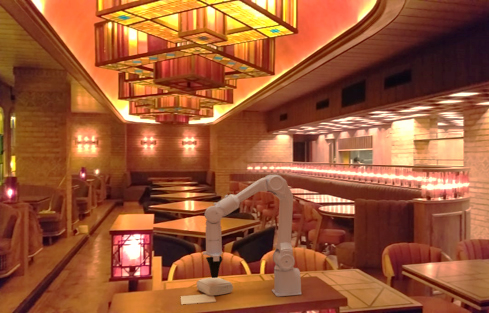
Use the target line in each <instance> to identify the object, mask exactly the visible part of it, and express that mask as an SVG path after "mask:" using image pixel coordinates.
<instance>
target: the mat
mask: <svg viewBox="0 0 489 313" xmlns="http://www.w3.org/2000/svg"><path fill="white" fill-rule="evenodd" d="M180 297H181V298H180ZM180 297H179V298H180V303H181V304H180V305H181V306H183V304H186V305H196V304H197V303H198V304H206V303H207V304H209V303H210V304H211V303H216V302H217V300H216V298H215V295H213V296H211V295H207V294H205V293H202V294H193V295H191V294H190V295H181V296H180ZM198 304H197V305H198Z"/></svg>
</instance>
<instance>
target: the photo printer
mask: <svg viewBox="0 0 489 313" xmlns="http://www.w3.org/2000/svg"><path fill="white" fill-rule="evenodd" d="M196 289H197V291H199V292H201V293H202V294H207V295H211V296H213V295H214V296H219V295H225V294H230V293H232V292H233V289H234V285H233V284H232V282H231V281H229V280H226V279H223V278H221V277H217V278H212V277H207V278H206V277H205V278H202V279H199V280H197V281H196Z"/></svg>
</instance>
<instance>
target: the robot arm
mask: <svg viewBox="0 0 489 313" xmlns="http://www.w3.org/2000/svg"><path fill="white" fill-rule="evenodd" d="M259 192H270V193H272V194H273V195H274V196H275V197H276V198H277V199H278V201H279V202H278V203H279V204H278V205H279V206H278V208H279V209H278V221H277V223H278V225H277V226H278V227H277V242H276V244H275V249H274V252H273V254H272V261H273V262H274V264H275V265H274V267H273V276H274V279H273V280H274V288H272V289H271V292H272V293H273V294H274V295H275V296H276V297H285V296H286V297H287V296H289V297H290V296H298V295H300V296H301V295H303V294H302V280H301V271H300V269H299V268H298V267H294V266H295V263H296V262H295V261H296V259H295V256H294V254H293V253H294V251H293V245H292V229H293V228H292V227H293V212H294V211H293V210H294V209H293V208H294V195H293V192H292V190H291V189H290V187H289V185H288V181H287V180H286V179H285V178H283V177H282V175H280V174H268V175H266V176H265V177H262V178H259V179H258V180H256V181H254V182H252V184H250V185H248V186H247V187H245V188H244V189H243V190H241V191H240V192H238V193H237V194H231V193H230V194H229V195H228V194H226V195H224V198H222V199H220V200H219V201H217V202H214V203H213V205H210V206H208V207H207V208H206V209H205V211H204V214H203V215H204V218H205V219H206V220H205V251H202V255H205V256H207V257H205V260H206V261H207V264H208V267H209V272H210V278H219V277H218V276H219V272H220V267H221V264H222V262H223V257H222V254H223V250H222V249H223V246H222V245H223V243H222V241H223V240H222V225H221V221H222V218H223V217H227V215H230V214H231V213H232V212H234V211H236V210H237V209H239V208H240V205H241V202H243V201H245V200H247V199H248V198H250V197H252V196H253V195H255V194H257V193H259Z"/></svg>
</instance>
